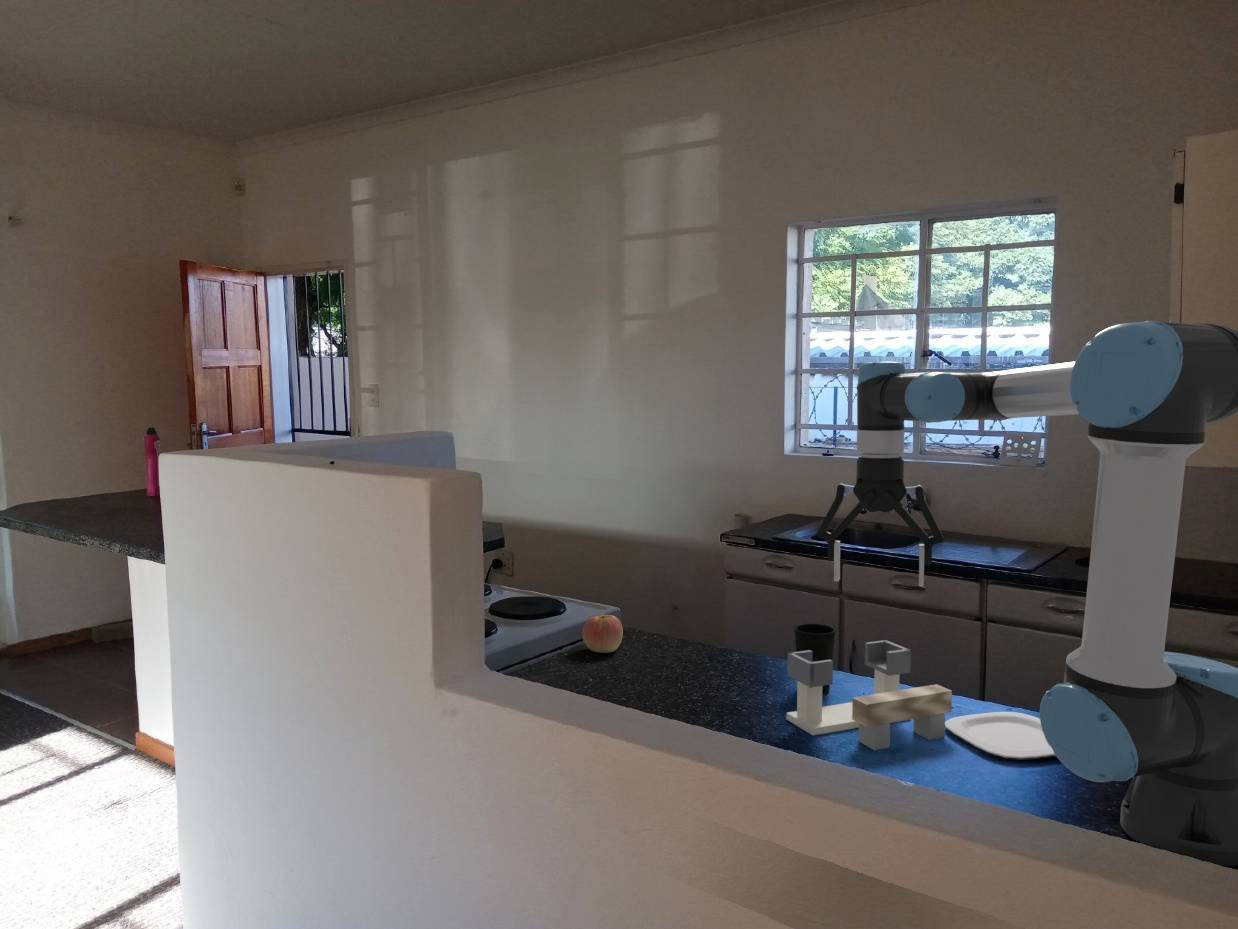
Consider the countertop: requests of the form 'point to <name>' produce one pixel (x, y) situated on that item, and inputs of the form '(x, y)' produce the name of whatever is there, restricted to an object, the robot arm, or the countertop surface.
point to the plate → (1003, 734)
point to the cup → (816, 643)
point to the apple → (603, 633)
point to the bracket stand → (817, 674)
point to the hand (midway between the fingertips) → (878, 582)
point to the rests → (881, 733)
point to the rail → (901, 705)
